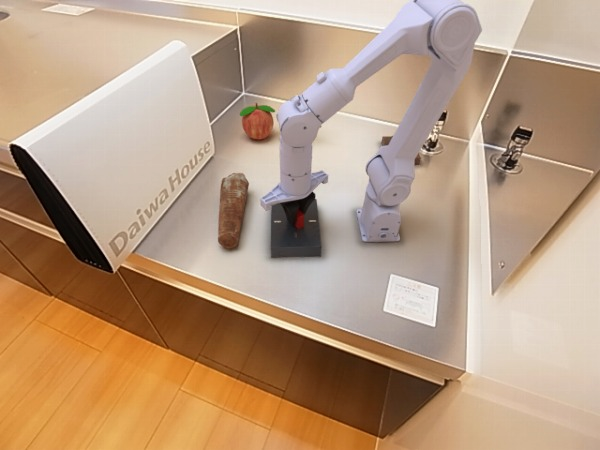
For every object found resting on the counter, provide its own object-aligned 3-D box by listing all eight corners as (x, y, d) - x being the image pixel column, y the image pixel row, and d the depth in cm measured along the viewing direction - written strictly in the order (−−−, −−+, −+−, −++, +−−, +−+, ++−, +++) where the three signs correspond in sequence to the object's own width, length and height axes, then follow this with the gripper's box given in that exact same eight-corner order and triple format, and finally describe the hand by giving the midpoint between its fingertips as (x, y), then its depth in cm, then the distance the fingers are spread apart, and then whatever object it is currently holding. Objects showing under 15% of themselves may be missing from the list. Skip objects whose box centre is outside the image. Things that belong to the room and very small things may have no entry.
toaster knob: (304, 226, 76) (304, 213, 73) (298, 229, 75) (298, 216, 73) (291, 213, 78) (291, 200, 76) (286, 216, 78) (286, 203, 75)
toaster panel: (320, 256, 74) (321, 246, 72) (271, 257, 74) (270, 247, 72) (315, 208, 84) (316, 198, 82) (272, 209, 84) (271, 198, 81)
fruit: (242, 128, 107) (238, 95, 99) (275, 127, 108) (273, 94, 100) (242, 145, 101) (238, 112, 94) (277, 143, 102) (276, 110, 94)
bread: (250, 190, 88) (248, 171, 84) (240, 251, 75) (238, 233, 71) (223, 189, 88) (220, 170, 84) (209, 251, 75) (205, 232, 71)
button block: (418, 164, 96) (422, 151, 93) (388, 165, 96) (391, 152, 93) (409, 143, 103) (412, 130, 100) (381, 143, 103) (383, 130, 100)
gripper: (314, 143, 72) (311, 196, 82) (249, 170, 66) (255, 223, 76) (337, 161, 68) (331, 214, 78) (271, 191, 62) (273, 244, 72)
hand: (295, 220), depth 76 cm, fingers closed on toaster knob
